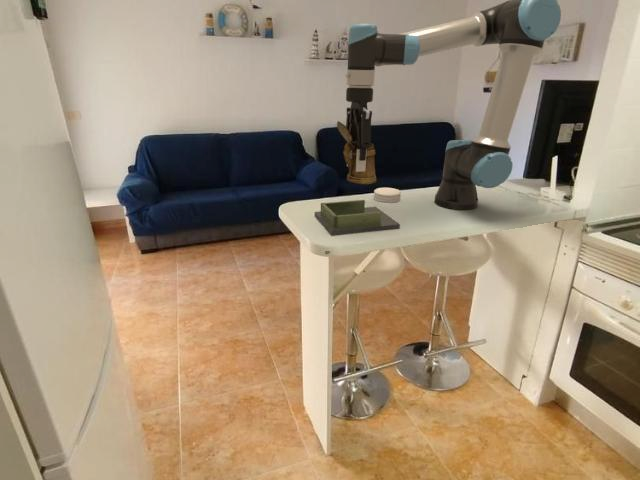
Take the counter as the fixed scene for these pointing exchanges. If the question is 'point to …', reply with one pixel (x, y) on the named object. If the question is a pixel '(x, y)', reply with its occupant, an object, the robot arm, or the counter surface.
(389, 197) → the coaster
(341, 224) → the green and grey tray
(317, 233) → the counter surface
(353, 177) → the wooden mug
